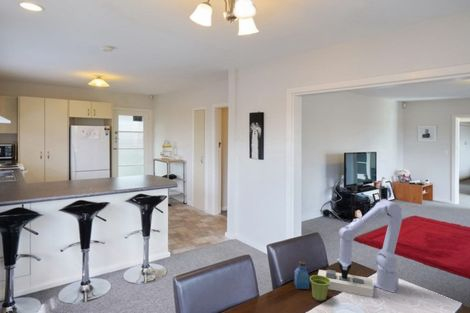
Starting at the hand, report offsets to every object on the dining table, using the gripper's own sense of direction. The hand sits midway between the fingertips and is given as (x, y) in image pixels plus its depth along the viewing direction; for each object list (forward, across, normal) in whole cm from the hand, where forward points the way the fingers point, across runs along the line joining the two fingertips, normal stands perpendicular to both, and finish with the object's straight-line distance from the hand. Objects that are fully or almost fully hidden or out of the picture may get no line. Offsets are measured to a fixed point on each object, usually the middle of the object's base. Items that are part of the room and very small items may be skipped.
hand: (344, 278), depth 154 cm
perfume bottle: (+5, +8, -20) cm, 22 cm away
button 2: (+4, 0, +6) cm, 8 cm away
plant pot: (+4, +16, -11) cm, 20 cm away
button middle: (+4, 0, 0) cm, 4 cm away
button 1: (+2, 0, -7) cm, 7 cm away
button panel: (+4, 0, 0) cm, 4 cm away
